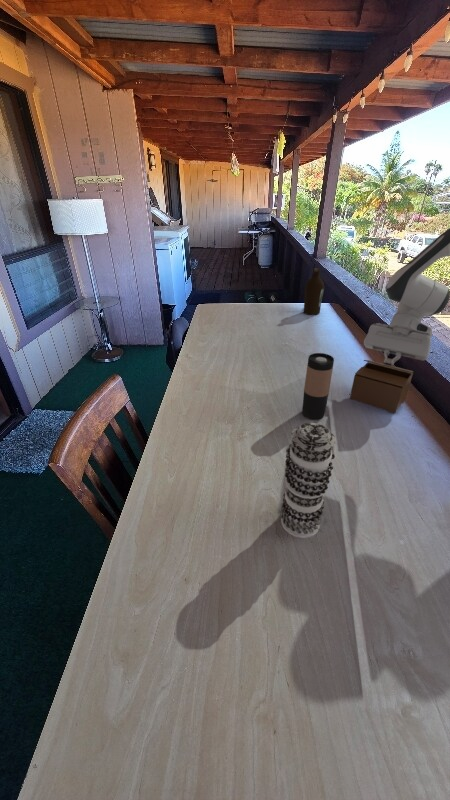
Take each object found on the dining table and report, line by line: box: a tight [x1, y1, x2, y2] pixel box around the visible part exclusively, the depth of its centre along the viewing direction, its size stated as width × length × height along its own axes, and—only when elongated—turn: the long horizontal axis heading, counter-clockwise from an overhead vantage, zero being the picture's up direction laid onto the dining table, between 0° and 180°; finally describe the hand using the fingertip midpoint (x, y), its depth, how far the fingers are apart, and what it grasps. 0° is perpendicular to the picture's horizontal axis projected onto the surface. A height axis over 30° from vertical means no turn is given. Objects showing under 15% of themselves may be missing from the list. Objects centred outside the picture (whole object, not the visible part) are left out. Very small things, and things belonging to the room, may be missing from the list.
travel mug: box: [301, 352, 335, 421], centre depth 109 cm, size 8×8×20 cm
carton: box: [349, 362, 414, 414], centre depth 118 cm, size 15×13×11 cm
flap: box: [363, 359, 414, 373], centre depth 117 cm, size 15×6×1 cm, turn 52°
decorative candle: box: [280, 422, 337, 539], centre depth 71 cm, size 9×9×25 cm
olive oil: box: [303, 267, 325, 316], centre depth 202 cm, size 11×11×25 cm
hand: (388, 364), depth 116 cm, fingers closed
